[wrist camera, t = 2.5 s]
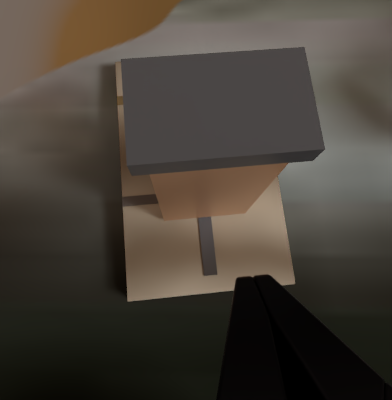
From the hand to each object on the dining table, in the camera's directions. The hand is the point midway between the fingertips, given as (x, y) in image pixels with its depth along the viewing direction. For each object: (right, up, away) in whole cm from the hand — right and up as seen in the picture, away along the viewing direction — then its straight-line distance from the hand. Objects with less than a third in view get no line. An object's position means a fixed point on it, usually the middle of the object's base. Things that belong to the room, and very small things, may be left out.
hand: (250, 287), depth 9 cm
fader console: (-1, +4, +15) cm, 16 cm away
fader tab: (-1, +3, +13) cm, 13 cm away
